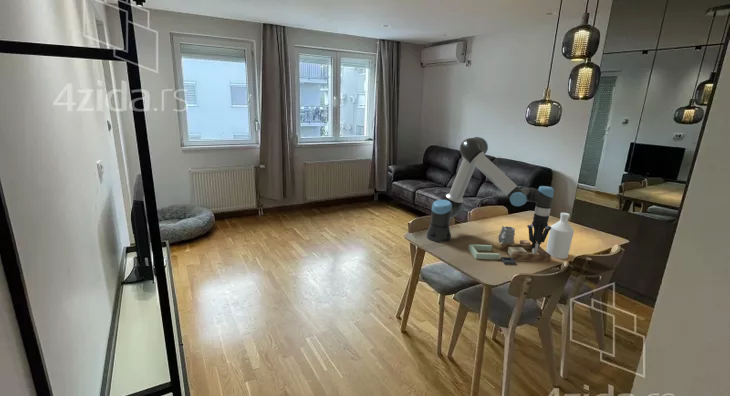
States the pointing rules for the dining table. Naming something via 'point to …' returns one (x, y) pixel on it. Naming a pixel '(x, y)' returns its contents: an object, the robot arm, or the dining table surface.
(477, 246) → the dock
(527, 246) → the shallow wooden box
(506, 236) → the mug
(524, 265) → the dining table surface
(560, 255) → the bottle
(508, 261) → the tray
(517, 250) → the beech block
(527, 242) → the terracotta cube
